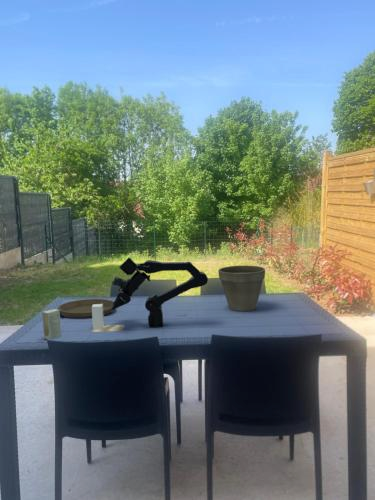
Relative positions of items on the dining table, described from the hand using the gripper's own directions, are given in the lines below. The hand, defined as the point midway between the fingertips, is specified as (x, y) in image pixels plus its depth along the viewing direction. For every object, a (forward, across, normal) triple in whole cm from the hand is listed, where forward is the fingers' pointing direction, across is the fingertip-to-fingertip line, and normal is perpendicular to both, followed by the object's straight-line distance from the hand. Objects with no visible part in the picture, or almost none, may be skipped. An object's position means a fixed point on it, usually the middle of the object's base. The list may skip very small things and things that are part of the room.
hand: (113, 306), depth 201 cm
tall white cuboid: (+12, 0, +1) cm, 12 cm away
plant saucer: (+19, -33, -4) cm, 38 cm away
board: (+9, +2, +5) cm, 11 cm away
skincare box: (+26, +10, -12) cm, 30 cm away
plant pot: (-39, -24, +56) cm, 72 cm away
